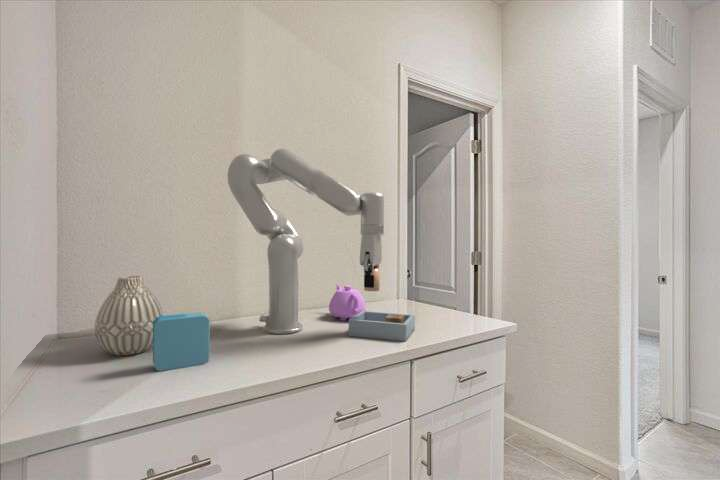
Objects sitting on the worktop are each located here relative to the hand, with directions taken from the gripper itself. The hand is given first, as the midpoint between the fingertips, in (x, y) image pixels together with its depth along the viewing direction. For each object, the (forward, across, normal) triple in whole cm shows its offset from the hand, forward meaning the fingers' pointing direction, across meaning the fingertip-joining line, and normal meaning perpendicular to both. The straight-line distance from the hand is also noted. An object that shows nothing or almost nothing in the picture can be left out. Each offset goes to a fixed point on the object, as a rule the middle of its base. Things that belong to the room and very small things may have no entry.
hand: (371, 285), depth 124 cm
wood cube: (+15, 0, +8) cm, 17 cm away
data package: (+15, +46, -34) cm, 59 cm away
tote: (+15, 0, +4) cm, 16 cm away
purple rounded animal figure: (+15, -17, -15) cm, 27 cm away
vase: (+15, +42, -55) cm, 71 cm away
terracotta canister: (+2, 0, 0) cm, 2 cm away
